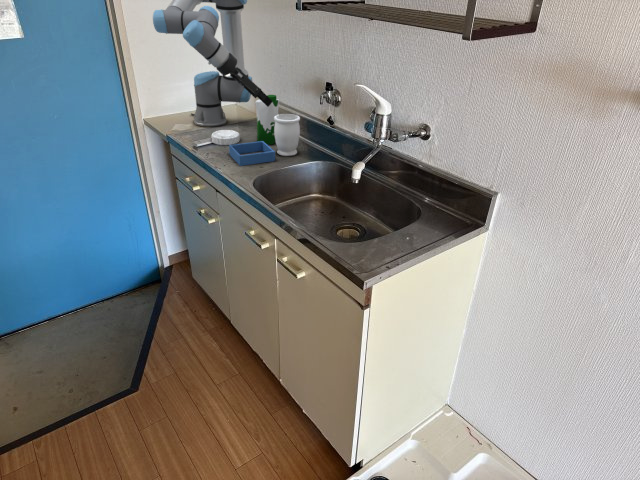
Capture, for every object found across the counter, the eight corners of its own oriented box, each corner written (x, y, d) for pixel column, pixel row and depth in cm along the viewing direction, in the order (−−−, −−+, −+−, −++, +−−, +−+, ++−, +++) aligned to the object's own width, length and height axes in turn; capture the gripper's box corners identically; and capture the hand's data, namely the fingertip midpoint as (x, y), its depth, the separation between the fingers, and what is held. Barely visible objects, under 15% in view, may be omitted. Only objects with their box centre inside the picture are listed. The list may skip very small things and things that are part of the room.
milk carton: (272, 145, 203) (271, 98, 193) (254, 142, 206) (252, 96, 196) (281, 140, 210) (281, 94, 200) (263, 137, 213) (262, 91, 203)
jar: (296, 158, 191) (296, 121, 183) (271, 156, 192) (270, 119, 185) (302, 149, 200) (302, 114, 192) (278, 147, 201) (278, 112, 194)
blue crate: (229, 154, 192) (228, 145, 190) (263, 150, 198) (262, 140, 196) (240, 166, 182) (239, 156, 180) (275, 161, 188) (275, 151, 186)
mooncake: (228, 147, 199) (228, 139, 198) (206, 142, 204) (205, 134, 202) (245, 139, 209) (244, 131, 207) (223, 135, 213) (222, 127, 211)
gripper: (206, 62, 177) (246, 99, 190) (226, 75, 158) (269, 115, 171) (219, 46, 176) (258, 85, 190) (240, 58, 157) (282, 99, 171)
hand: (263, 99), depth 181 cm, fingers open, 13 cm apart
